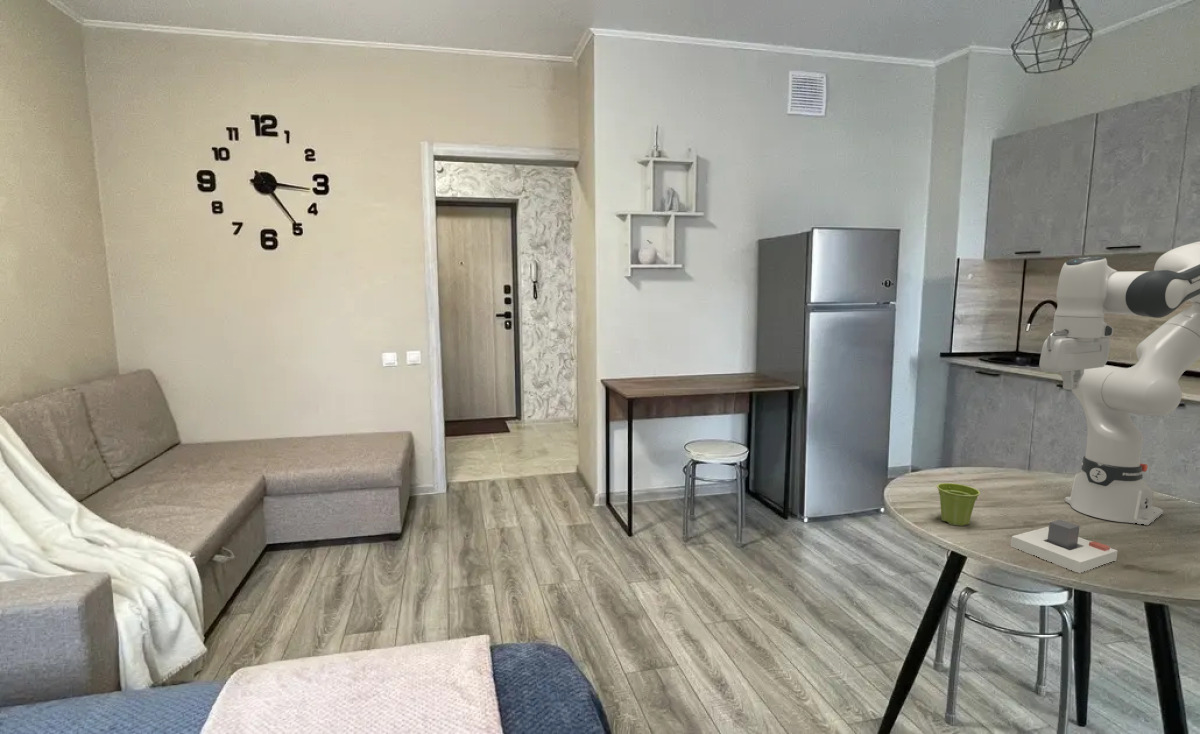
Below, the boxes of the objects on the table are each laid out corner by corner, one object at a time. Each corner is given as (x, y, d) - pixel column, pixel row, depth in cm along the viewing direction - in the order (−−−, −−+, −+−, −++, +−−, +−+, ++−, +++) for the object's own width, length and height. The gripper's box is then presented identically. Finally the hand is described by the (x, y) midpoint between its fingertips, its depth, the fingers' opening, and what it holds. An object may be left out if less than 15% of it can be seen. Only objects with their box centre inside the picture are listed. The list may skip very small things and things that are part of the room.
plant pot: (931, 512, 159) (934, 480, 158) (972, 517, 155) (975, 485, 154) (936, 525, 150) (940, 492, 149) (980, 531, 147) (984, 497, 146)
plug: (1055, 548, 138) (1059, 519, 137) (1075, 555, 134) (1079, 525, 133) (1046, 551, 136) (1049, 522, 135) (1065, 558, 133) (1069, 528, 132)
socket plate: (1046, 536, 144) (1048, 523, 144) (1116, 561, 132) (1117, 547, 131) (1010, 546, 139) (1012, 533, 138) (1079, 573, 126) (1081, 559, 125)
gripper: (1065, 332, 129) (1058, 395, 131) (1118, 328, 137) (1111, 387, 139) (1034, 329, 134) (1028, 390, 136) (1086, 326, 143) (1080, 383, 145)
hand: (1070, 389), depth 138 cm, fingers closed
